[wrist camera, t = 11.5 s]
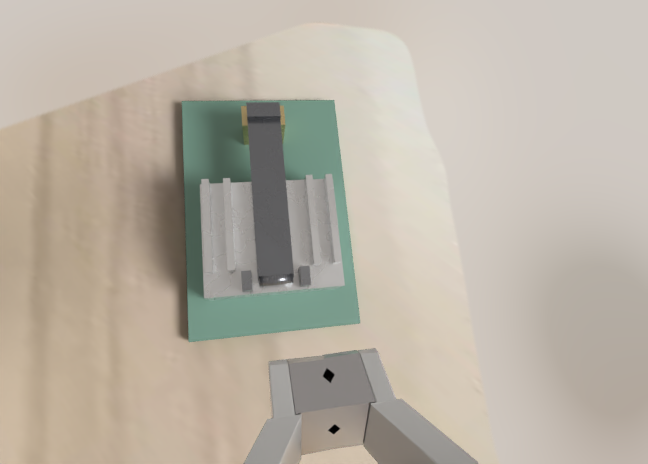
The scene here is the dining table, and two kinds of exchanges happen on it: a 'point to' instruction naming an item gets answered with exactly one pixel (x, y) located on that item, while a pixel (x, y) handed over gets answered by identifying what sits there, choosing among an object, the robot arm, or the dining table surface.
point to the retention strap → (269, 194)
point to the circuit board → (234, 162)
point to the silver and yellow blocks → (239, 236)
